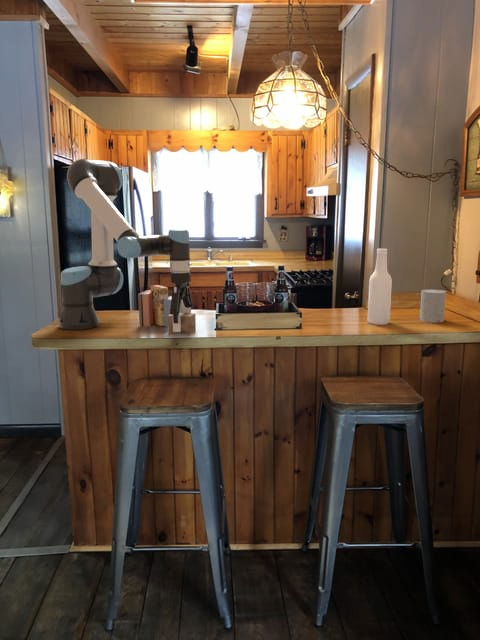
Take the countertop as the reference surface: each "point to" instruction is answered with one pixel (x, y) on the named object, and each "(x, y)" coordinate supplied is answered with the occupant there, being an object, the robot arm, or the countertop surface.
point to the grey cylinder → (432, 305)
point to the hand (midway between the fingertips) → (182, 327)
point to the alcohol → (380, 291)
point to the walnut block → (183, 323)
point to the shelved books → (148, 309)
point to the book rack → (142, 308)
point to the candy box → (159, 303)
